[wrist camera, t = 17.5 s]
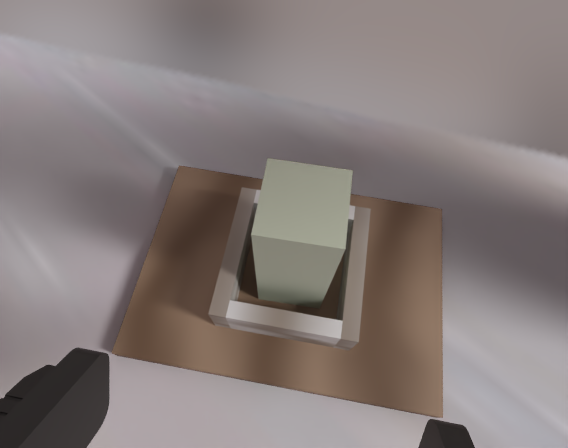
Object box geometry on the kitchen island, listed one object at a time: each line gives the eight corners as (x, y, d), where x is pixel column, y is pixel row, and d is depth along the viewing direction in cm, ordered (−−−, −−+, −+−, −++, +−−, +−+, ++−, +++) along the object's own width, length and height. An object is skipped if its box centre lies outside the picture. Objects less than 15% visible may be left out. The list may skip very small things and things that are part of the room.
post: (326, 252, 27) (352, 170, 18) (319, 308, 25) (345, 249, 16) (269, 243, 27) (267, 158, 18) (258, 299, 25) (251, 234, 16)
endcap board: (436, 215, 30) (459, 187, 26) (436, 417, 23) (465, 417, 20) (181, 172, 31) (169, 140, 27) (117, 355, 25) (90, 344, 21)
